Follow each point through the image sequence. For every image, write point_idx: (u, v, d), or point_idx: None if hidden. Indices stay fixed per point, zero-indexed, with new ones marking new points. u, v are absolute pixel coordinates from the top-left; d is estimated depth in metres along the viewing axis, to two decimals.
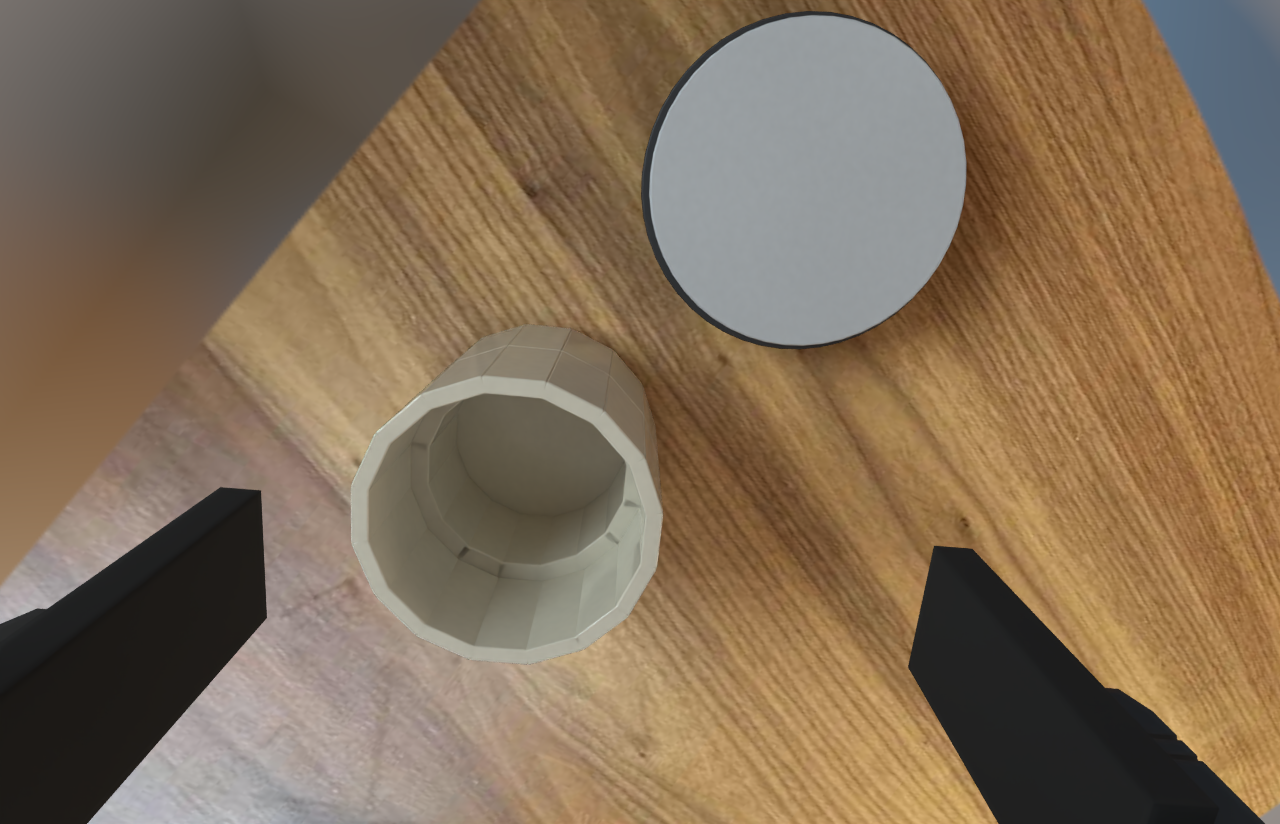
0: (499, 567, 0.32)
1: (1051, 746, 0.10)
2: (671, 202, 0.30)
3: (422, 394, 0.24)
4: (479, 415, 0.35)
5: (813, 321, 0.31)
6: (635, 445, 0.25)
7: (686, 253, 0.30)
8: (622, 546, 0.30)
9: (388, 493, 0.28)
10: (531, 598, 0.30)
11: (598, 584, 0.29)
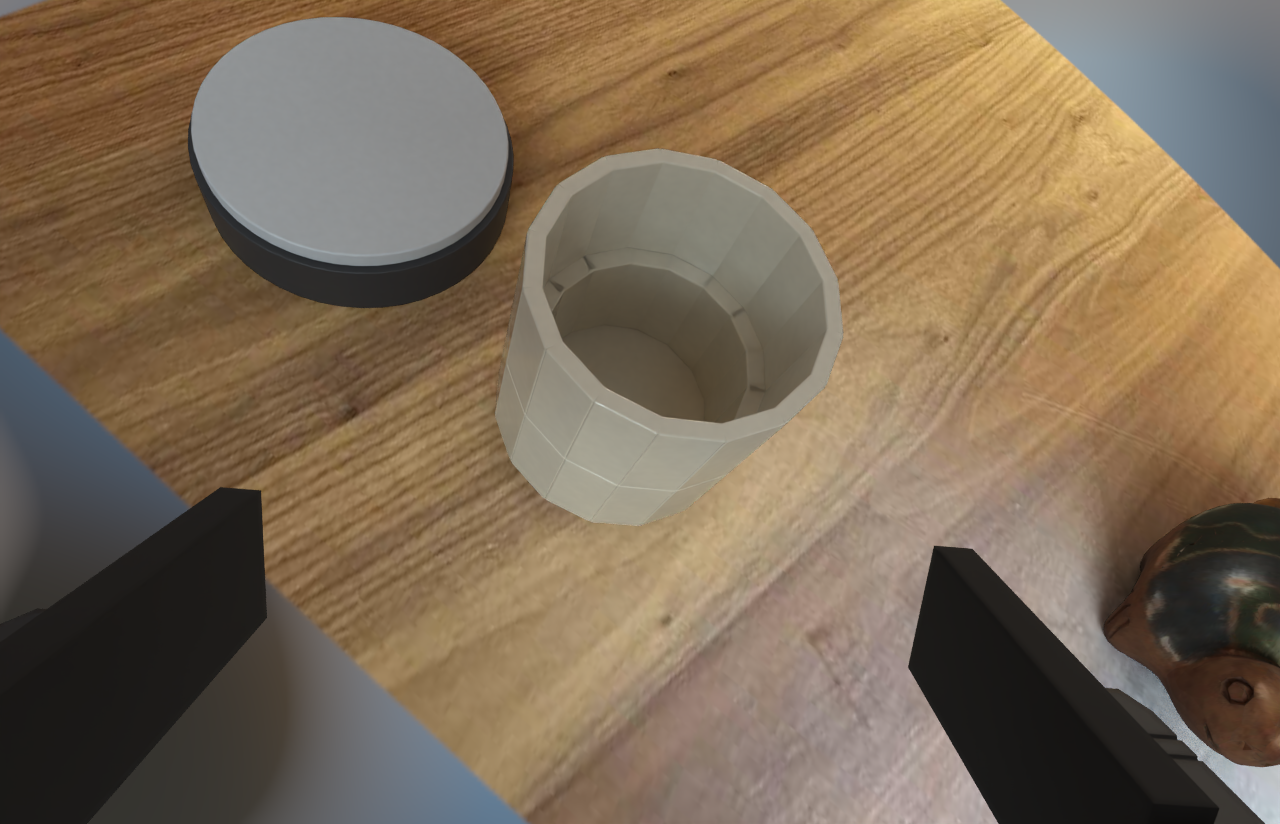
0: (753, 390, 0.29)
1: (1051, 746, 0.10)
2: (363, 237, 0.30)
3: (545, 348, 0.22)
4: None
5: (484, 133, 0.33)
6: (592, 164, 0.25)
7: (415, 228, 0.31)
8: (712, 257, 0.30)
9: None
10: (778, 338, 0.28)
11: (751, 260, 0.28)
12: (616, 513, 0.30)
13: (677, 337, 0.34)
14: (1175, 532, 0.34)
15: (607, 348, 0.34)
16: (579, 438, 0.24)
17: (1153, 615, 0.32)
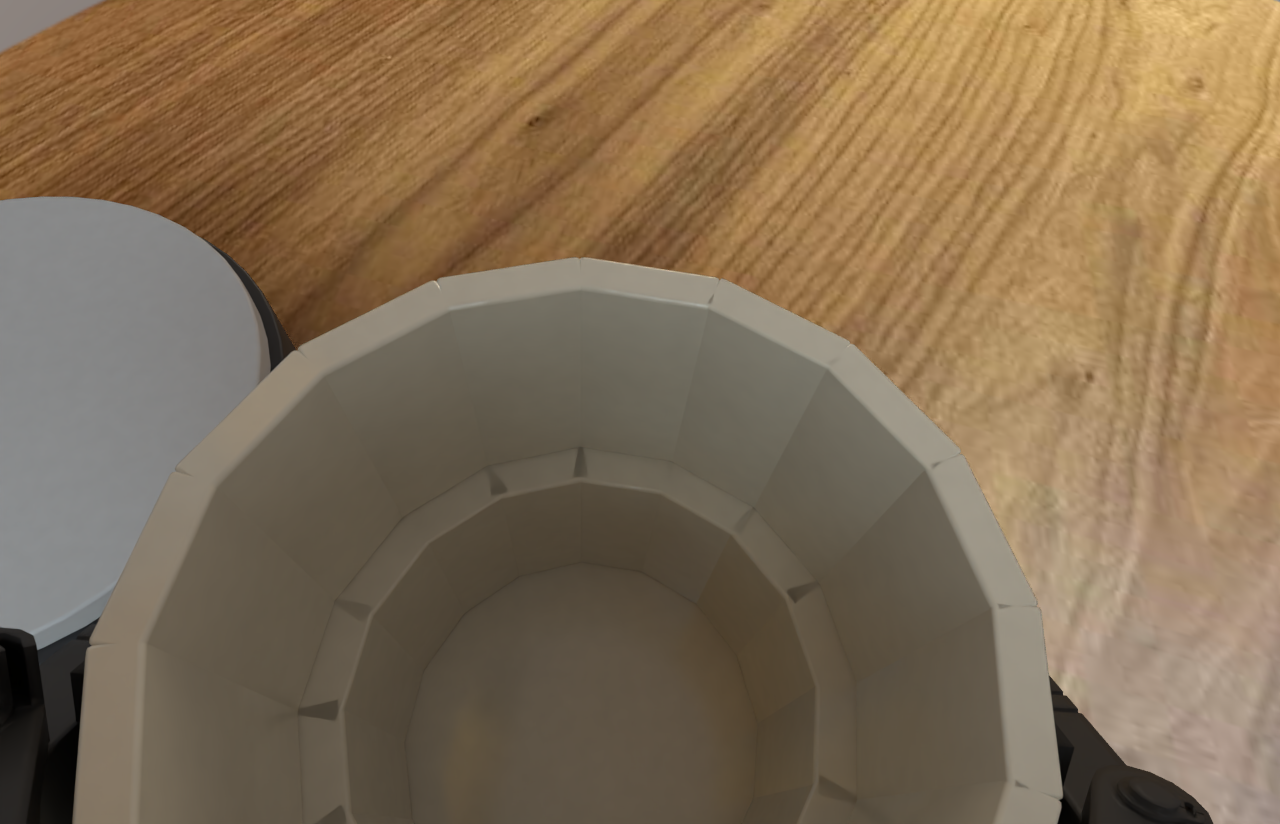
0: (831, 689, 0.13)
1: None
2: None
3: None
4: None
5: (212, 322, 0.19)
6: (268, 378, 0.10)
7: (95, 553, 0.16)
8: (656, 435, 0.14)
9: None
10: (847, 574, 0.13)
11: (733, 428, 0.13)
12: None
13: (652, 563, 0.18)
14: None
15: (537, 620, 0.19)
16: None
17: None
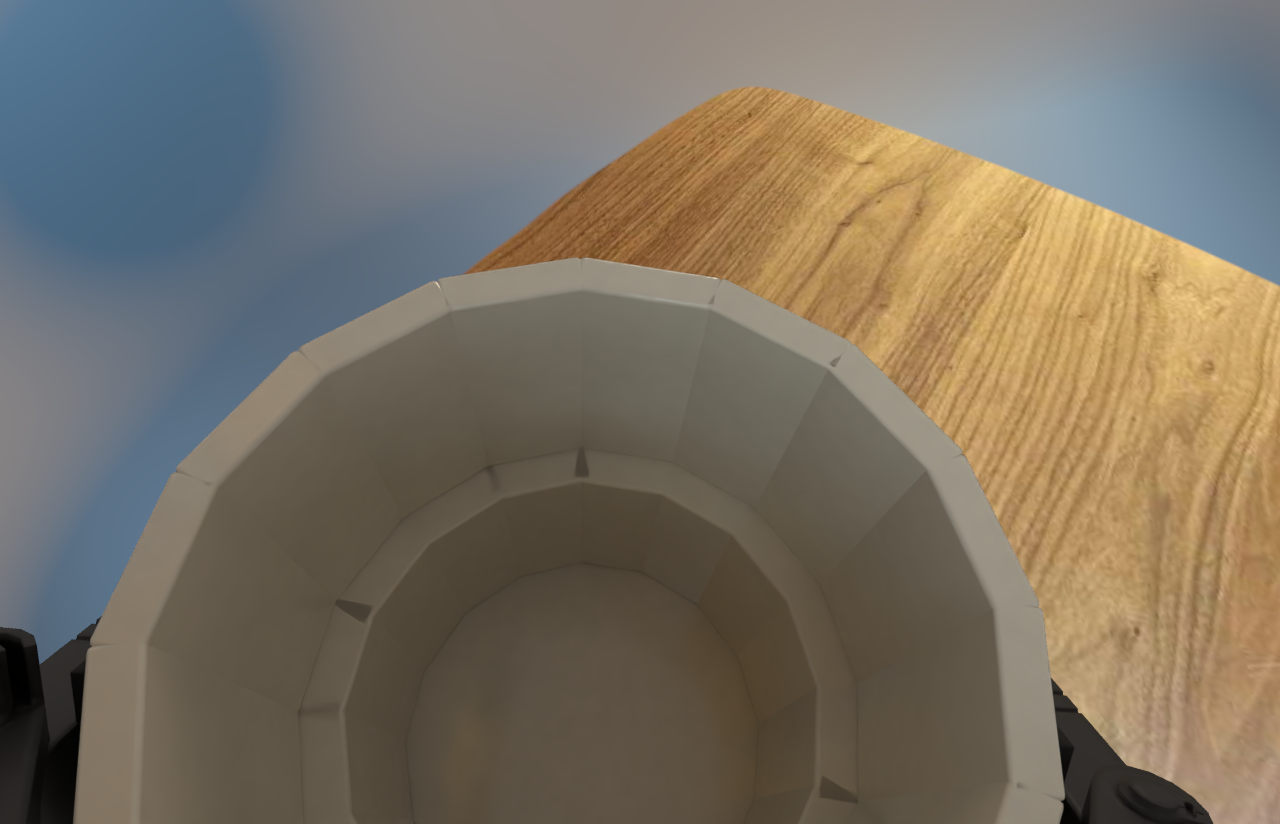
0: (833, 690, 0.13)
1: None
2: None
3: None
4: None
5: None
6: (269, 378, 0.10)
7: None
8: (657, 436, 0.14)
9: None
10: (849, 575, 0.13)
11: (734, 429, 0.13)
12: None
13: (652, 563, 0.18)
14: None
15: (538, 620, 0.19)
16: None
17: None
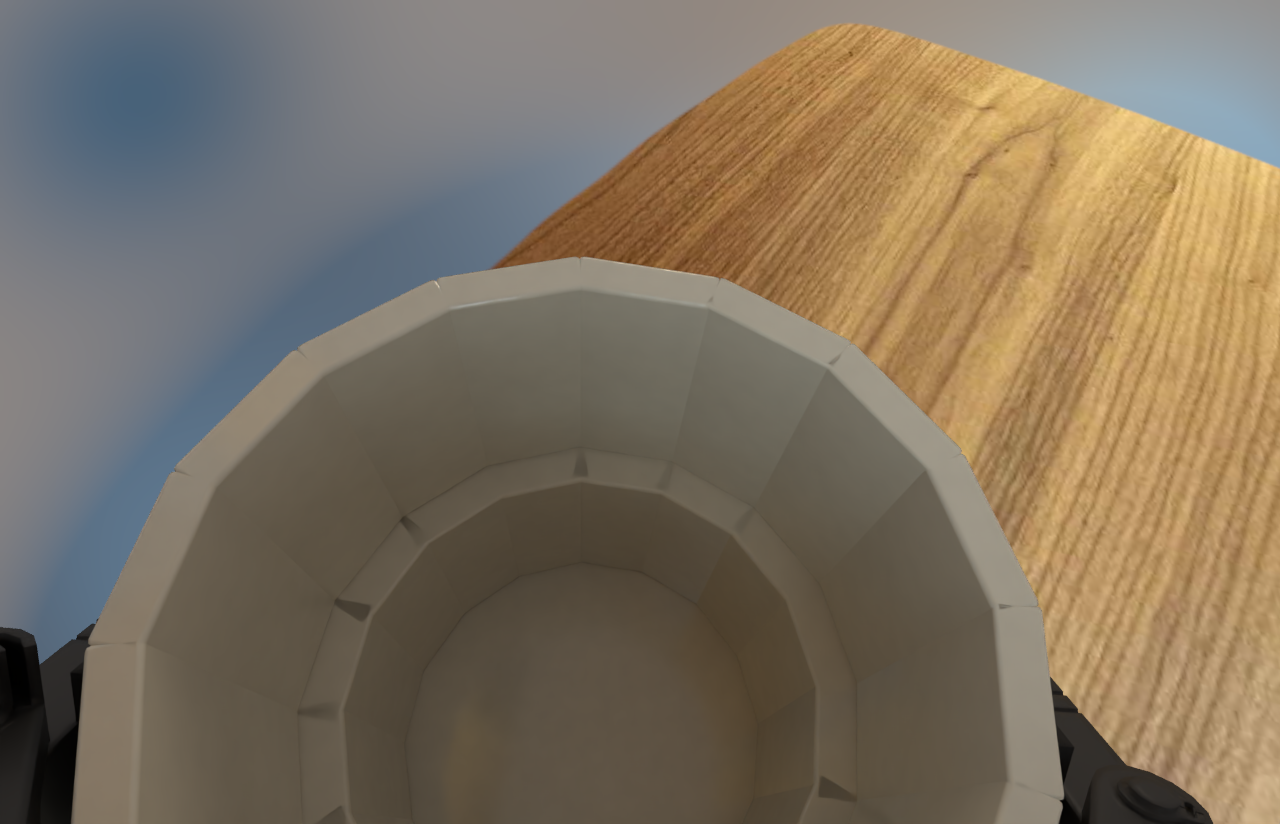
0: (832, 689, 0.13)
1: None
2: None
3: None
4: None
5: None
6: (268, 378, 0.10)
7: None
8: (656, 435, 0.14)
9: None
10: (848, 574, 0.13)
11: (733, 428, 0.13)
12: None
13: (652, 563, 0.18)
14: None
15: (537, 620, 0.19)
16: None
17: None
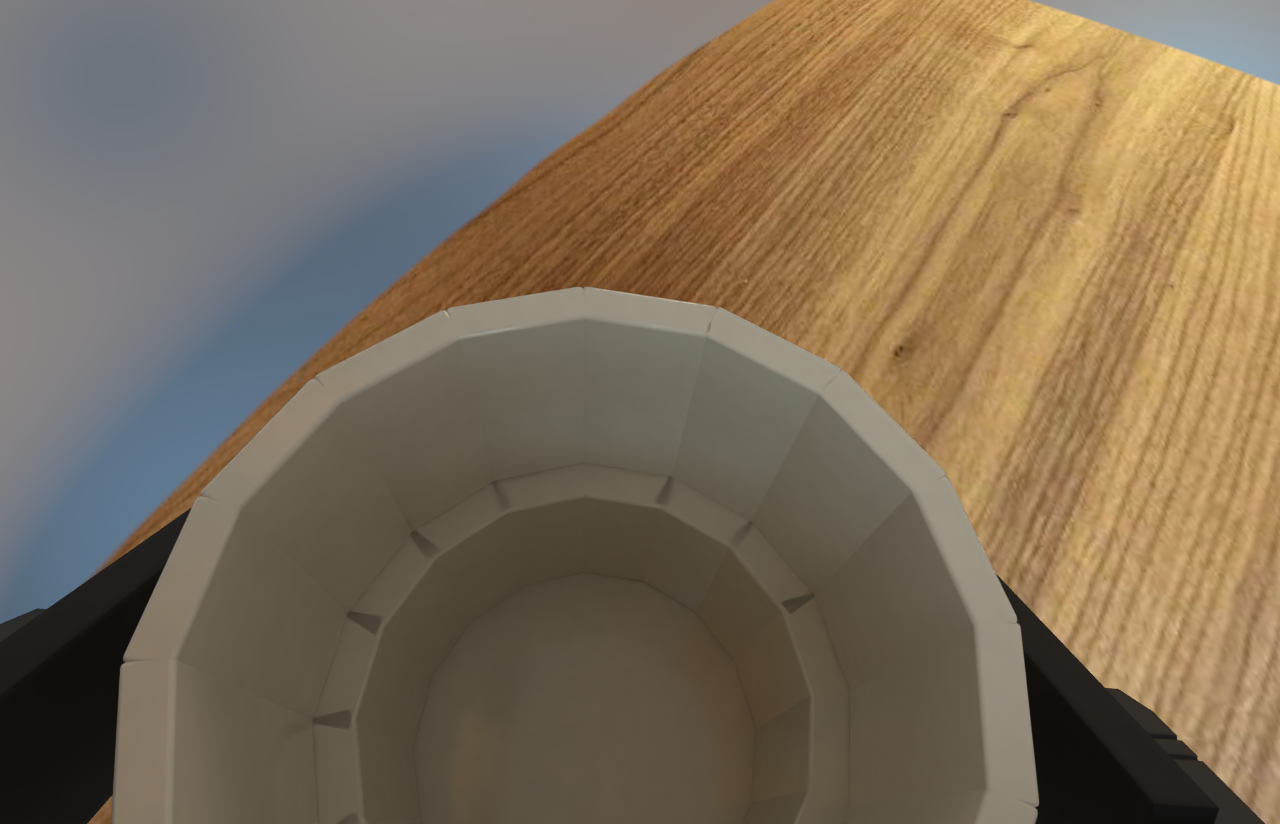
0: (825, 698, 0.14)
1: (1052, 746, 0.10)
2: None
3: None
4: None
5: None
6: (287, 405, 0.10)
7: None
8: (656, 452, 0.15)
9: None
10: (841, 588, 0.13)
11: (731, 447, 0.13)
12: None
13: (653, 573, 0.19)
14: None
15: (541, 628, 0.19)
16: None
17: None
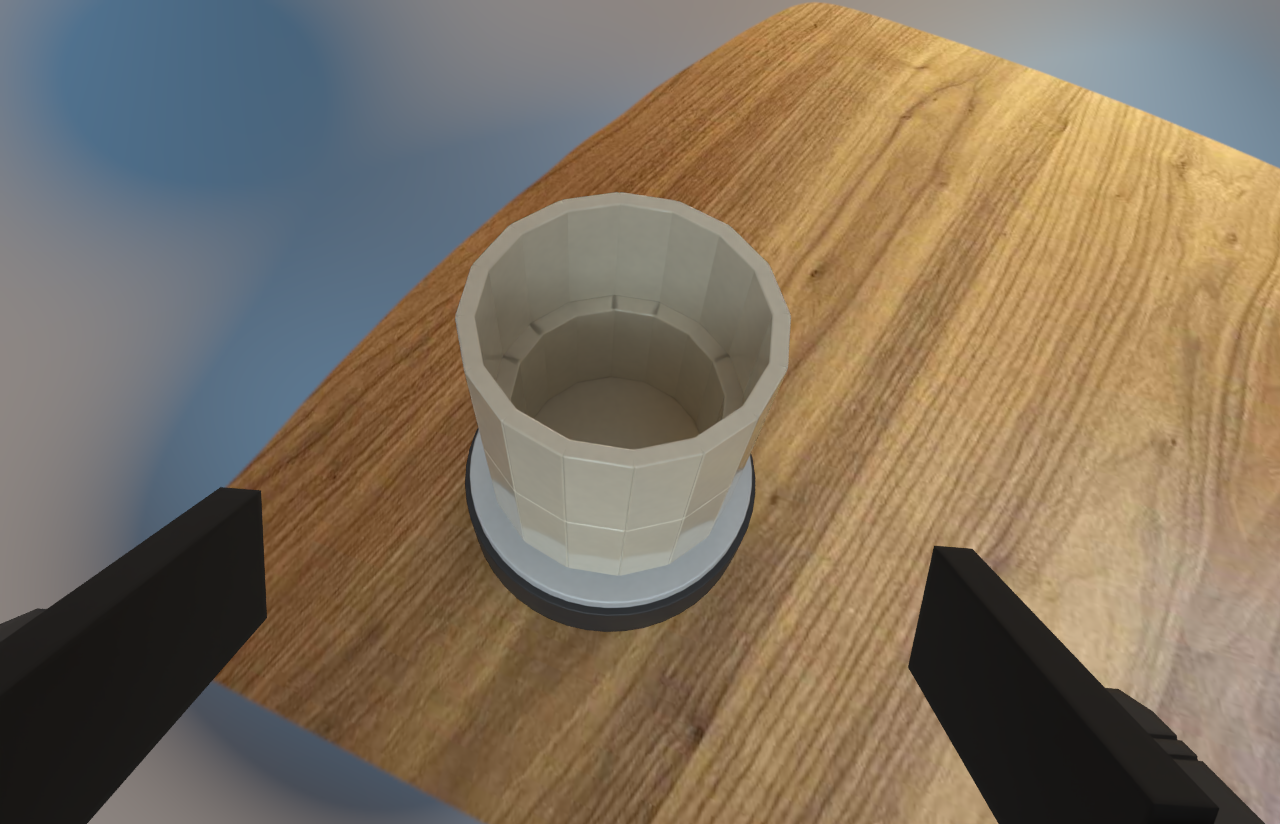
0: (732, 396, 0.29)
1: (1051, 746, 0.10)
2: (665, 571, 0.31)
3: (502, 420, 0.22)
4: None
5: None
6: None
7: (703, 543, 0.32)
8: (651, 284, 0.30)
9: None
10: (737, 339, 0.28)
11: (686, 274, 0.28)
12: (639, 559, 0.29)
13: (650, 371, 0.34)
14: None
15: (587, 403, 0.34)
16: (568, 497, 0.24)
17: None
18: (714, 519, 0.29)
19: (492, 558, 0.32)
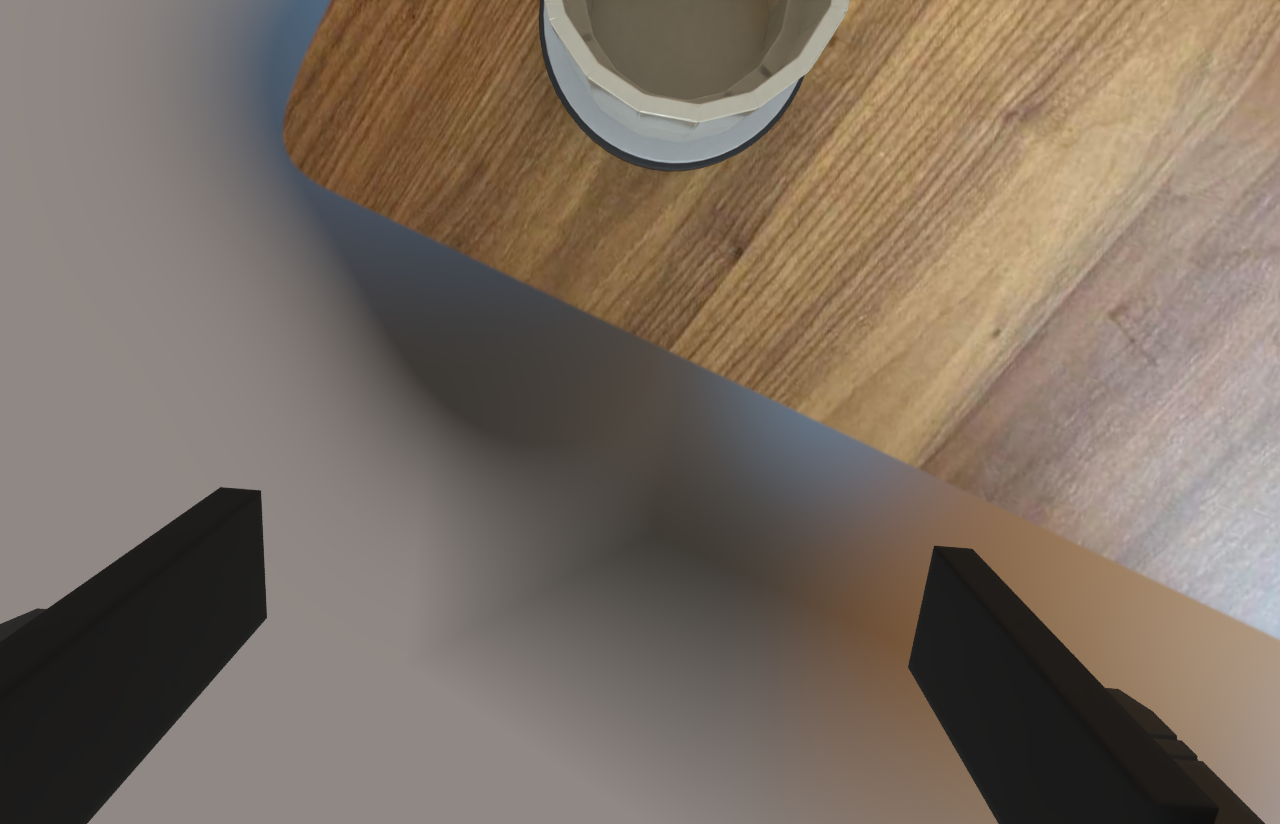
0: None
1: (1051, 746, 0.10)
2: (721, 134, 0.36)
3: (586, 75, 0.26)
4: (677, 90, 0.35)
5: None
6: None
7: None
8: None
9: None
10: None
11: None
12: (699, 136, 0.34)
13: None
14: None
15: None
16: (641, 120, 0.29)
17: None
18: None
19: (571, 116, 0.37)
